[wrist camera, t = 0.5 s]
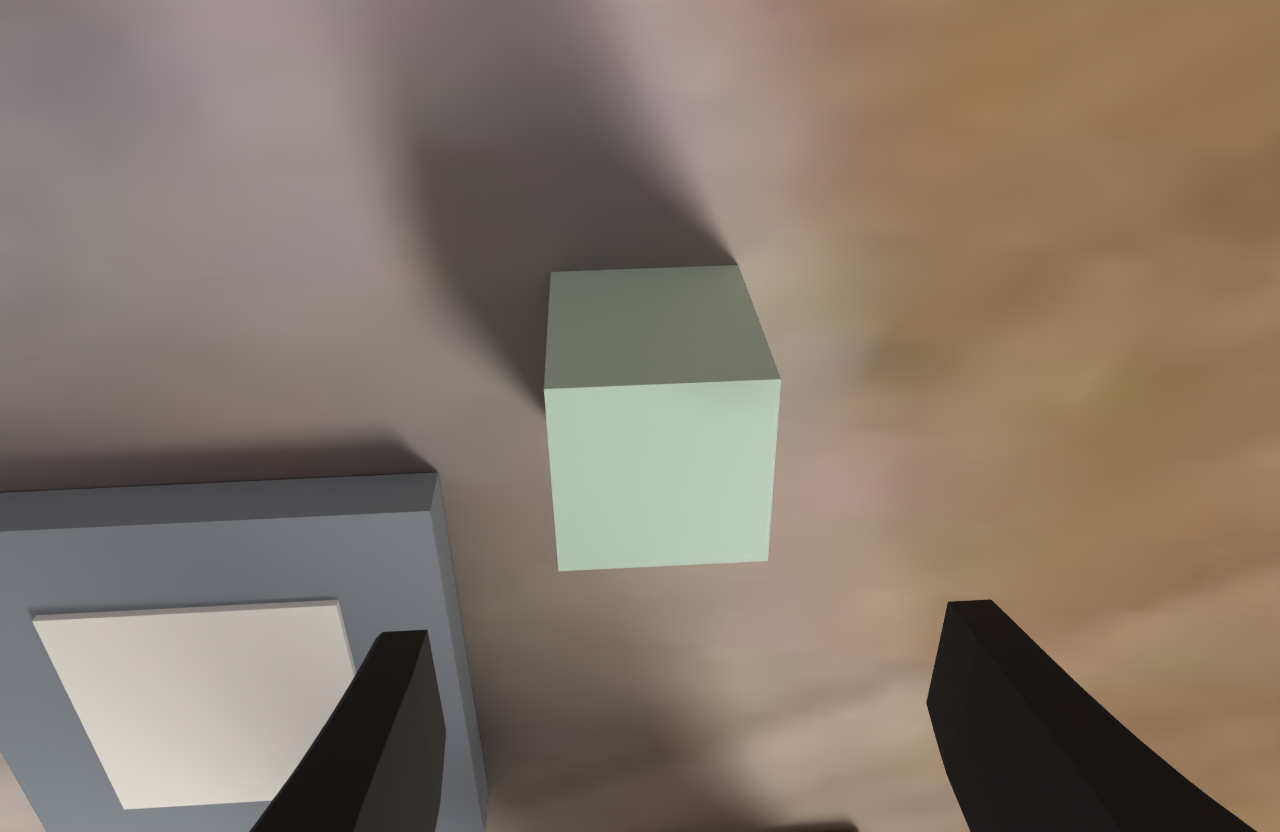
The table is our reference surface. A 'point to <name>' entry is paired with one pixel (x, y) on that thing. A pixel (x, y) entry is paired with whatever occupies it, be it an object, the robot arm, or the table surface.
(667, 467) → the sage block
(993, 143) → the table surface
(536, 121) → the table surface
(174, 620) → the slate base
